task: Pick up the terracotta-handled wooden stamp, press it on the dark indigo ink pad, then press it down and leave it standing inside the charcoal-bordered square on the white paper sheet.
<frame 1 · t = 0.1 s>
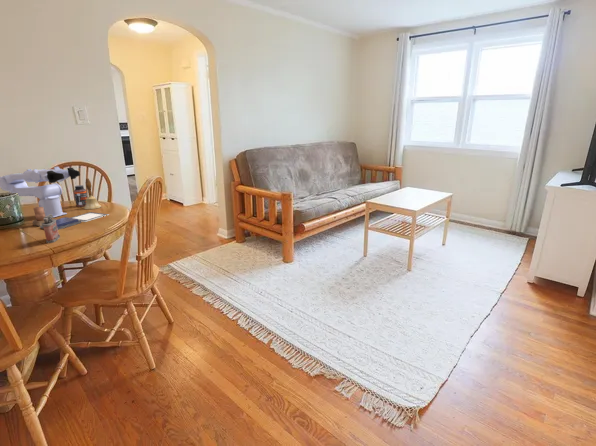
hand: (71, 174, 156), 22 cm above the table, tool horizontal, fingers open, 7 cm apart
stamp: (42, 224, 155), on the table
ink pad: (61, 225, 153), on the table
marked square: (88, 216, 166), on the table
hand bell: (92, 207, 184), on the table
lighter: (53, 240, 135), on the table
supplement bottle: (83, 206, 188), on the table
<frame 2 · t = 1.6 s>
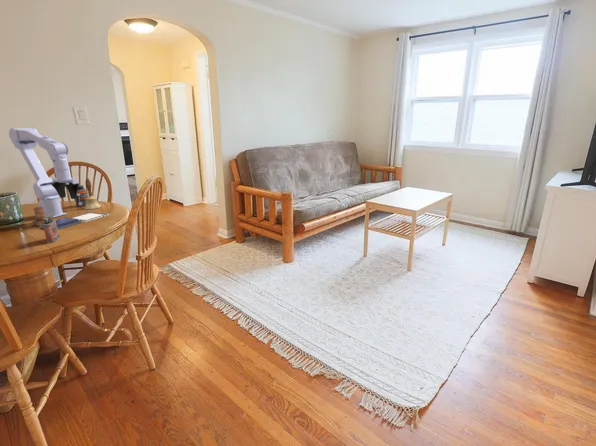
hand: (68, 198, 160), 10 cm above the table, tool pointing down, fingers open, 7 cm apart
nothing on the table moved.
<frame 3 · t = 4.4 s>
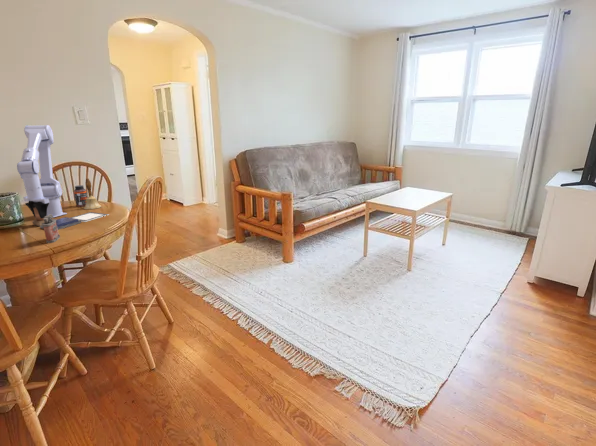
hand: (40, 217, 154), 3 cm above the table, tool pointing down, fingers closed on stamp, 4 cm apart
stamp: (42, 224, 155), on the table, touching gripper
everything else where it was.
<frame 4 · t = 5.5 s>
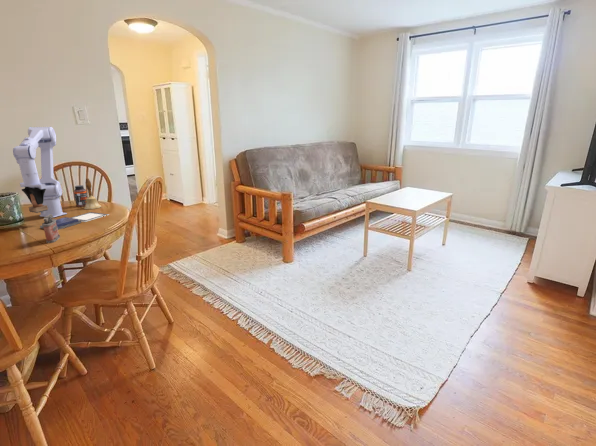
hand: (37, 203, 152), 10 cm above the table, tool pointing down, fingers closed on stamp, 4 cm apart
stamp: (39, 211, 153), point 6 cm above the table, touching gripper
everything else where it was.
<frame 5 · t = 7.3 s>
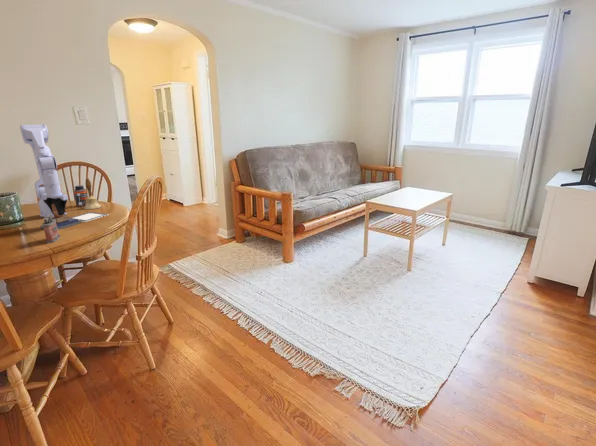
hand: (58, 214, 152), 5 cm above the table, tool pointing down, fingers closed on stamp, 4 cm apart
stamp: (60, 221, 153), point 2 cm above the table, touching gripper, ink pad
everything else where it was.
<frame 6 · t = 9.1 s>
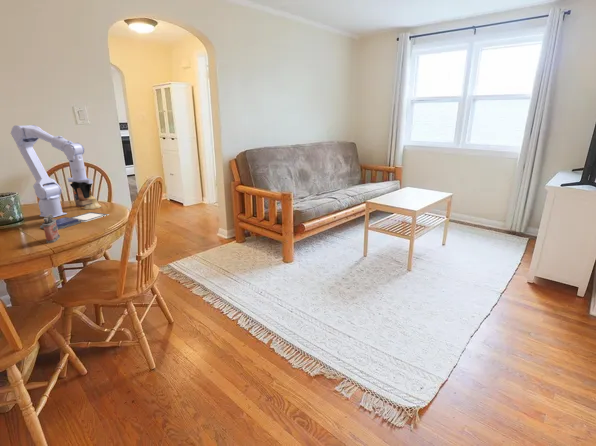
hand: (83, 197, 163), 10 cm above the table, tool pointing down, fingers closed on stamp, 4 cm apart
stamp: (84, 204, 163), point 7 cm above the table, touching gripper
everything else where it was.
when the fingers open (4 cm above the table, at t = 10.7 s): stamp stays where it is, resting on marked square.
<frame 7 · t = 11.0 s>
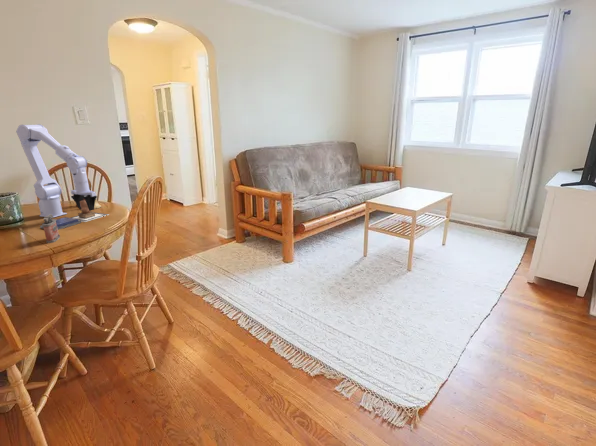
hand: (86, 209, 165), 4 cm above the table, tool pointing down, fingers open, 6 cm apart
stamp: (87, 216, 166), resting on marked square
everything else where it was.
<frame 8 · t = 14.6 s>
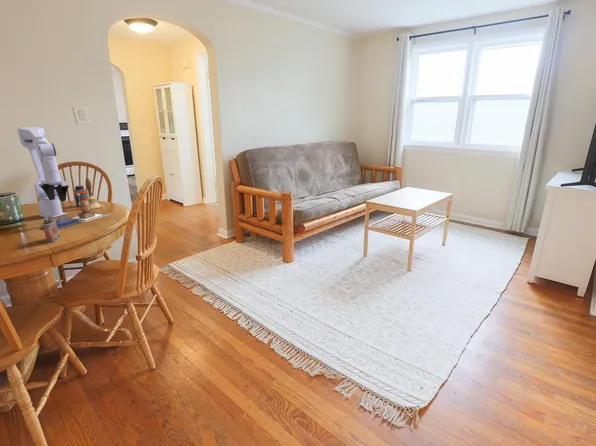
hand: (57, 200, 156), 10 cm above the table, tool pointing down, fingers open, 7 cm apart
nothing on the table moved.
at the end: stamp 0.5 cm off-centre on the marked square, point 0.2 cm above the marked square's base; stamp tilted 0°; the gripper is holding nothing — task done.
